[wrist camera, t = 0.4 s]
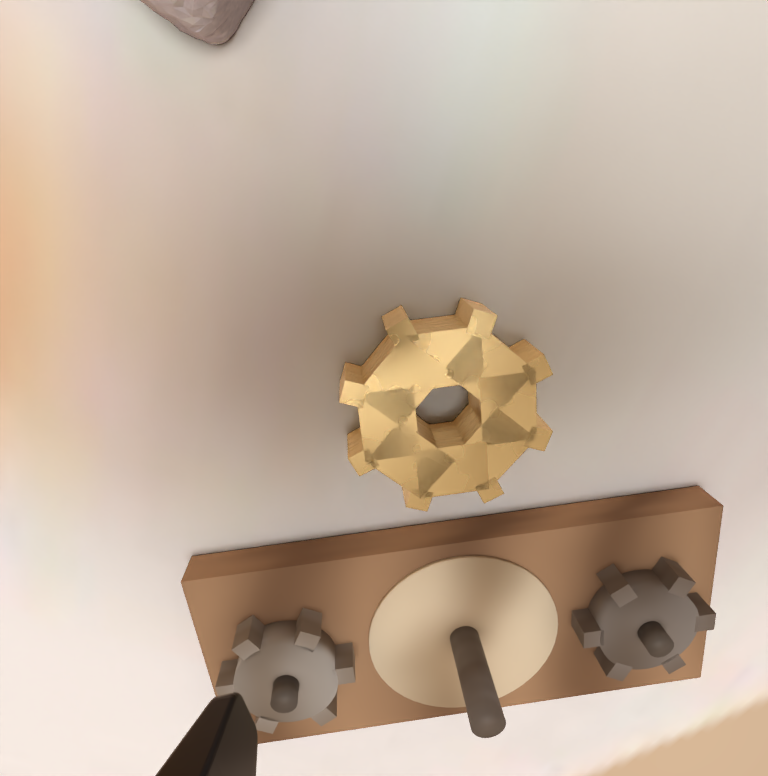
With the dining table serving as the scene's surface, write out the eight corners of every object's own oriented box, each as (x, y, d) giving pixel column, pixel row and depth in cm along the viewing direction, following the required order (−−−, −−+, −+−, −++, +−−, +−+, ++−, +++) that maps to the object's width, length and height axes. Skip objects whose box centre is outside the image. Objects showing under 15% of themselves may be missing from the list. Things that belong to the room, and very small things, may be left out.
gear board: (698, 485, 22) (808, 575, 17) (680, 650, 25) (768, 768, 20) (191, 556, 21) (142, 671, 16) (238, 715, 24) (209, 855, 19)
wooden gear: (531, 288, 18) (552, 299, 17) (534, 467, 21) (552, 494, 19) (329, 314, 18) (327, 327, 16) (356, 491, 21) (357, 521, 19)
